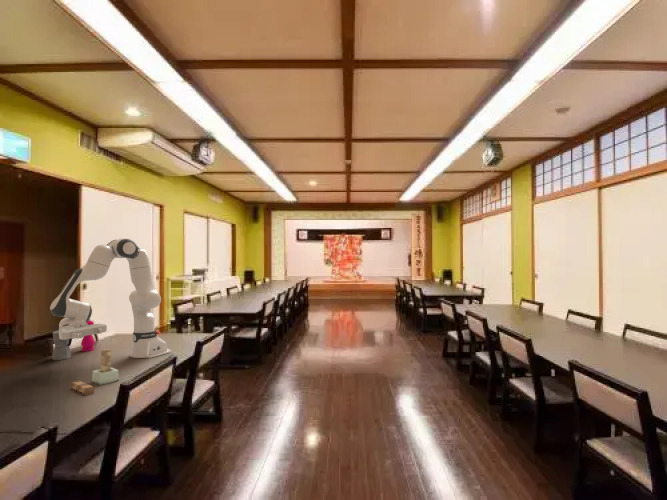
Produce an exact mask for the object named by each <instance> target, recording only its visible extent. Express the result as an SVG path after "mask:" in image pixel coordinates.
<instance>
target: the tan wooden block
mask: <svg viewBox="0 0 667 500" xmlns="http://www.w3.org/2000/svg"><path fill="white" fill-rule="evenodd" d="M111 360H112V349H111V348H104V349H101V350H100V369H101V373H104V372H109V371H111V368H112V367H111V363H112V361H111Z"/></svg>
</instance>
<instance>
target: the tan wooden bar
mask: <svg viewBox="0 0 667 500" xmlns="http://www.w3.org/2000/svg"><path fill="white" fill-rule="evenodd" d="M72 388H73V389H72ZM71 389H72V390H74V389H75V390H74V391H76V390H77V392H78V391H79V392H78V393H80V392H82V393H81V394H83V393H84V394H83V395H85V394H86V395H85V396H88V395H87V394H89V395H92V394H91V393H93V394H94V391H95V387H94V386H92V385H90V384H89V383H86V382H83V381H81V380H77V381H73V382H71Z"/></svg>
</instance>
